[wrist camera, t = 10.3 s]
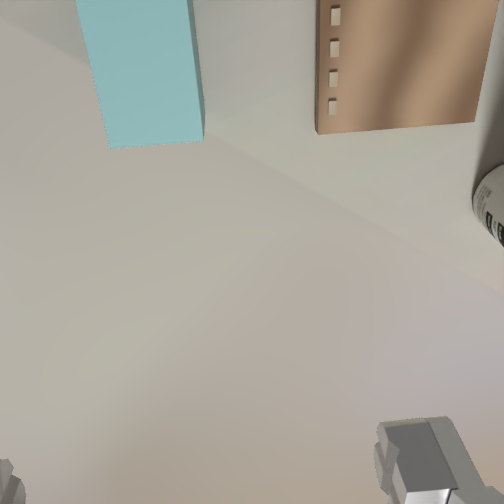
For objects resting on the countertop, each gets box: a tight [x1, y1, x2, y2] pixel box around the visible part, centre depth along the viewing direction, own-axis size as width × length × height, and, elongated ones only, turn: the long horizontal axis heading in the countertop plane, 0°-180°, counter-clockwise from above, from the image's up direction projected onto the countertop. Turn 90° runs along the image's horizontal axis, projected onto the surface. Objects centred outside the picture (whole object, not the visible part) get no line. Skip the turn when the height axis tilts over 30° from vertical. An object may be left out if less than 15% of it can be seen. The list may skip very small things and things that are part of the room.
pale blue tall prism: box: [75, 0, 205, 149], centre depth 29 cm, size 6×12×6 cm, turn 3°
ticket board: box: [315, 0, 499, 135], centre depth 32 cm, size 12×16×1 cm
